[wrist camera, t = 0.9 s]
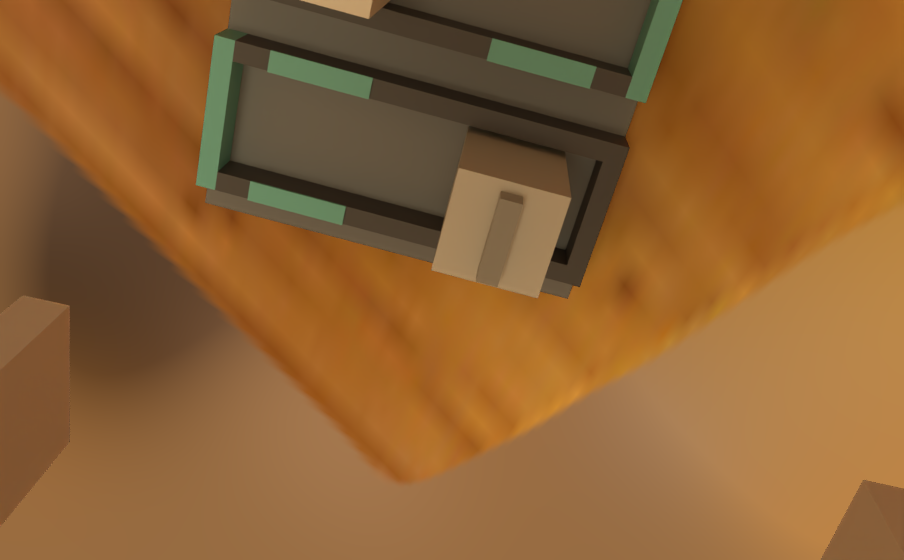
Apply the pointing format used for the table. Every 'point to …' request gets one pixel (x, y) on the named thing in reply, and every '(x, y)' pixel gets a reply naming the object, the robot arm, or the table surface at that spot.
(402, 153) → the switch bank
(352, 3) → the beige rectangular block
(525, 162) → the beige handled cube
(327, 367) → the table surface
